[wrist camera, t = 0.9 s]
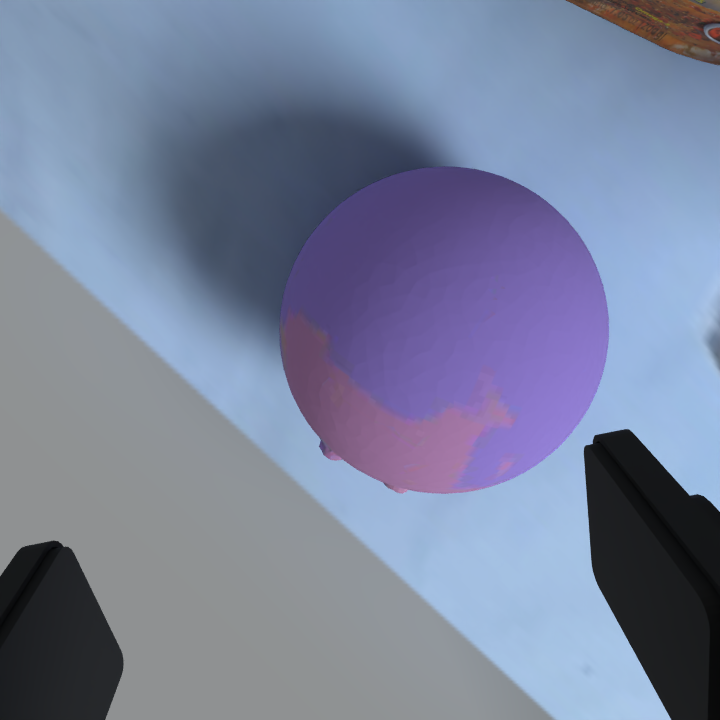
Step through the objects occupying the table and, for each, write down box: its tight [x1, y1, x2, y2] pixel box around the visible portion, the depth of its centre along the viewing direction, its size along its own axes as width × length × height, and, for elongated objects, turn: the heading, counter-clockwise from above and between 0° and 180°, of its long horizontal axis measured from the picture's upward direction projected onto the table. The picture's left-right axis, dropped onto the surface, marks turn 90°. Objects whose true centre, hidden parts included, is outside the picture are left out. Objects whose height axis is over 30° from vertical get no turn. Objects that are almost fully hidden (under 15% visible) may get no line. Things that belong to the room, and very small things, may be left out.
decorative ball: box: [279, 167, 609, 494], centre depth 29 cm, size 15×15×15 cm
